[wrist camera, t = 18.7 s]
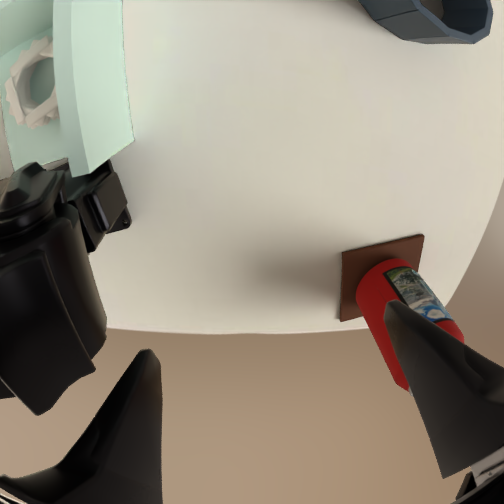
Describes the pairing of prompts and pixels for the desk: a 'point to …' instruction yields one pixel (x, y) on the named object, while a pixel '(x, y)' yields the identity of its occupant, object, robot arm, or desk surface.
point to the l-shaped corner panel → (63, 82)
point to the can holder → (433, 20)
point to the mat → (365, 260)
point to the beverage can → (408, 292)
